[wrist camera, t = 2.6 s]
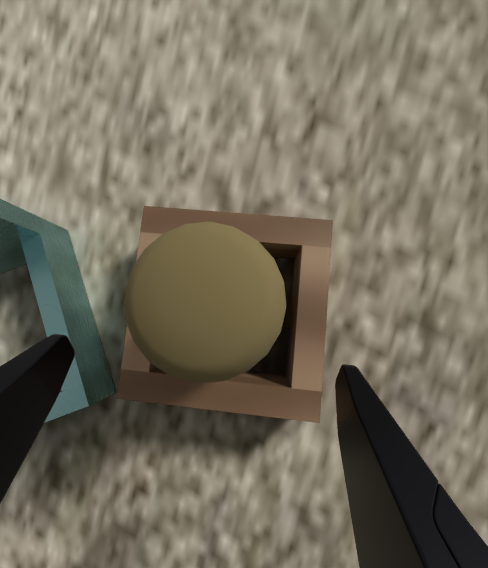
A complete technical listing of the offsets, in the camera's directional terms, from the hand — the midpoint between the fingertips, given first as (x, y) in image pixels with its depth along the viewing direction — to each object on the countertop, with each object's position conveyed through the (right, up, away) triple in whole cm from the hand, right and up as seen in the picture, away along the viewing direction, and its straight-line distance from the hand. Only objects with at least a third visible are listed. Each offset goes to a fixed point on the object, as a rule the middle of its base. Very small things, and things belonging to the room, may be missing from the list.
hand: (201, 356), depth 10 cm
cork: (+1, +1, +10) cm, 10 cm away
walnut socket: (+1, +1, +9) cm, 9 cm away
